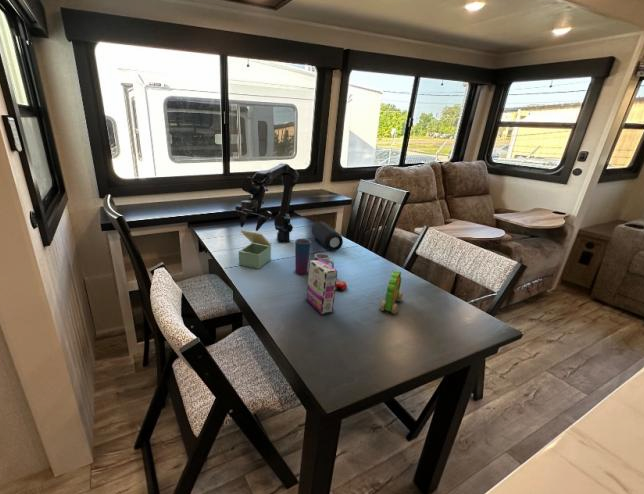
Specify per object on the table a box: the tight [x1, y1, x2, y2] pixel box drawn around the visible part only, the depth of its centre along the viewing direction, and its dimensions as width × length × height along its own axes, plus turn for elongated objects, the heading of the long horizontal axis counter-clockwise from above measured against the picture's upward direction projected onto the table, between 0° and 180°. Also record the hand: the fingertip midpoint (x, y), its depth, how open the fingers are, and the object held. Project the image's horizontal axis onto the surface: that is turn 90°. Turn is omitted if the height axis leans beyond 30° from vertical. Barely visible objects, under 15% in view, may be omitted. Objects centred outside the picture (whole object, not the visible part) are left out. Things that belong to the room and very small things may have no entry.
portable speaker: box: [311, 221, 344, 251], centre depth 173 cm, size 26×10×10 cm, turn 13°
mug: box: [313, 252, 335, 269], centre depth 141 cm, size 10×7×7 cm
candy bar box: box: [306, 259, 338, 315], centre depth 111 cm, size 11×5×16 cm, turn 23°
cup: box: [294, 238, 312, 276], centre depth 137 cm, size 7×7×15 cm
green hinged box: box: [238, 242, 272, 270], centre depth 148 cm, size 13×11×7 cm
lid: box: [240, 230, 272, 247], centre depth 146 cm, size 13×11×1 cm
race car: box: [335, 278, 348, 292], centre depth 128 cm, size 13×5×4 cm, turn 63°
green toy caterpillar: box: [379, 269, 404, 315], centre depth 112 cm, size 16×5×15 cm, turn 148°
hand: (248, 229), depth 148 cm, fingers open, 9 cm apart
